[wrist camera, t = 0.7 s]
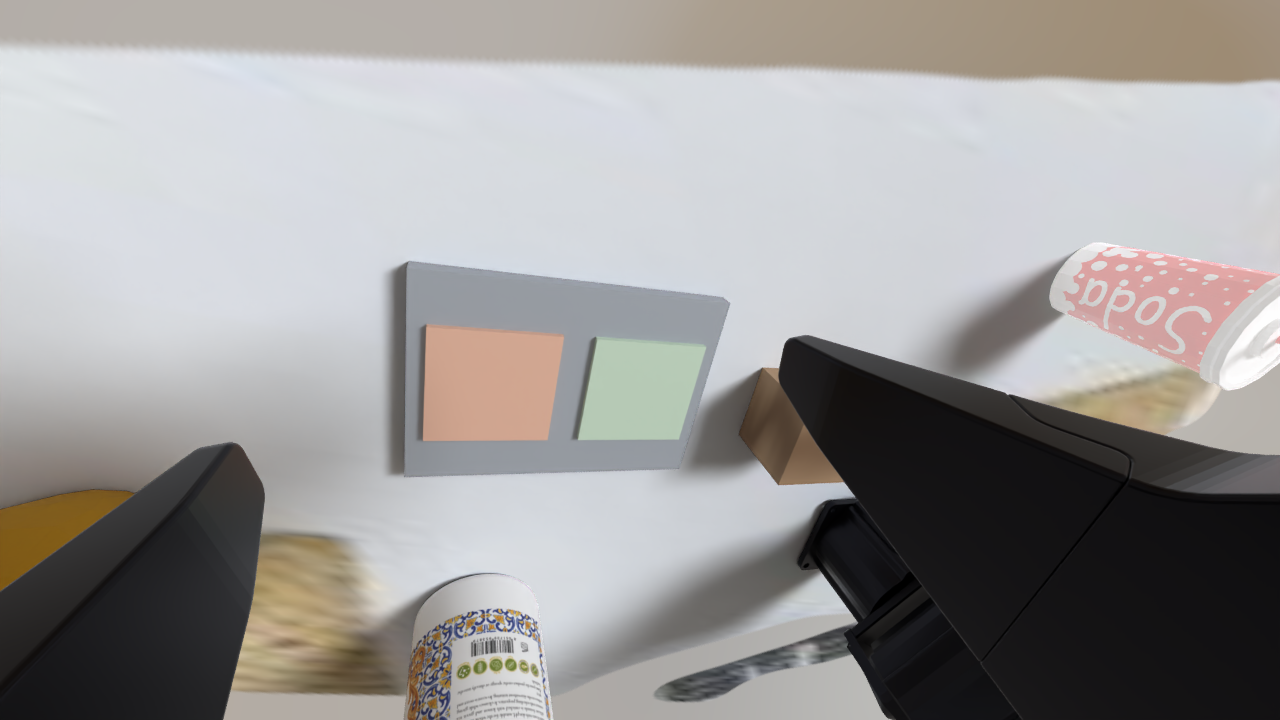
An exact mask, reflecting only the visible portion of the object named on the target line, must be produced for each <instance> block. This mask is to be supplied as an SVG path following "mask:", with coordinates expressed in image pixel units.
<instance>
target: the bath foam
mask: <svg viewBox="0 0 1280 720" xmlns="http://www.w3.org/2000/svg"><path fill="white" fill-rule="evenodd" d="M404 720H554V719H553V712H552V704H551V697H550V689H549V682H548V674H547V667H546V659H545V652H544V644H543V637H542V629H541V622H540V614H539V607H538V602H537V598H536V596H535V594H534V592H533V591H532V589H531V588H530V587H529V586H528V585H527V584H525V583H524V582H522V581H521V580H519V579H517V578H514V577H511V576H507V575H502V574H480V575H474V576H469V577H466V578H462V579H459V580H457V581H454V582H452V583H450V584H448V585H446V586H444V587H443V588H441V589H439V590H438V591H437V592H435V593H434V594H433V595H432V596H431V597H430V598H429V599H428V600H427V601H426V602H425V603H424V604H423V606H422V607H421V609H420V610H419V612H418V614H417V617H416V620H415V624H414V631H413V640H412V650H411V657H410V665H409V675H408V684H407V694H406V703H405V713H404Z"/></svg>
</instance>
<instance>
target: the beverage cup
mask: <svg viewBox="0 0 1280 720" xmlns="http://www.w3.org/2000/svg"><path fill="white" fill-rule="evenodd" d="M1049 299H1050V302H1051V306H1052V307H1053V308H1055V309H1056V310H1058V311H1060V312H1062V313H1064V314H1067V315H1069V316H1071V317H1073V318H1076V319H1078V320H1080V321H1082V322H1085V323H1087V324H1089V325H1092V326H1094V327H1096V328H1098V329H1101V330H1103V331H1105V332H1107V333H1110V334H1112V335H1114V336H1116V337H1119V338H1121V339H1123V340H1125V341H1128V342H1130V343H1132V344H1135V345H1137V346H1139V347H1141V348H1144V349H1146V350H1148V351H1150V352H1153V353H1155V354H1157V355H1159V356H1162V357H1164V358H1166V359H1169V360H1171V361H1173V362H1175V363H1178V364H1180V365H1182V366H1184V367H1187V368H1189V369H1191V370H1193V371H1196V372H1198V373H1200V377H1201V378H1202V379H1204V380H1205V381H1207V382H1209V383H1213V384H1216V385H1217V386H1218V387H1220V388H1222V389H1225V390H1233V389H1239V388H1242V387H1244V386H1246V385H1248V384H1250V383H1251V382H1253V381H1255V380H1257V379H1259V378H1260V377H1262V376H1263V375H1264V374H1266V373H1267V372H1268V371H1269V370H1271V369H1272V368H1273V367H1275V366H1276V365H1277V364H1278V363H1280V274H1275V273H1270V272H1264V271H1258V270H1253V269H1247V268H1242V267H1236V266H1230V265H1225V264H1219V263H1213V262H1208V261H1202V260H1197V259H1191V258H1185V257H1180V256H1174V255H1168V254H1163V253H1157V252H1152V251H1146V250H1140V249H1135V248H1129V247H1123V246H1118V245H1112V244H1107V243H1091V244H1089V245H1087V246H1085V247H1082V248H1080V249H1079V250H1078V251H1077V252H1076V253H1074V254H1073V255H1072V256H1071V257H1070V258H1069V259H1068V260H1067V261H1066V262H1065V264H1064V265H1063V266H1062V267H1061V269H1060V270H1059V271H1058V273H1057V275H1056V277H1055V279H1054V281H1053V283H1052V285H1051V290H1050V296H1049Z"/></svg>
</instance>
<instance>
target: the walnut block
mask: <svg viewBox="0 0 1280 720" xmlns="http://www.w3.org/2000/svg"><path fill="white" fill-rule="evenodd" d="M778 371H779V368H762V371H761V373H760V376H759V379H758V382H757V385H756V387H755V390H754V393H753V396H752V398H751V401H750V404H749V407H748V410H747V412H746V415H745V418H744V421H743V423H742V426H741V429H740V432H739V436H740V437H741V438H742V439H743V441H744V442H745V443H746V445H747V446H748V447H749V448H750V450H751V451H752V452H753V453H754V455H755V456H756V457H757V459H758V460H759V461H760V462H761V464H762V465H763V466H764V468H765V469H766V470H767V471H768V473H769V474H770V475H771V476H772V478H773V479H774V480H775V482H776V483H777V484H778V485H793V484H815V483H837V482H844V481H843V480H842V478H841V477H840V476H839V474H838V473H837V472H836V470H835V469H834V468H833V466H832V465H831V464H830V462H829V461H828V460H827V459H826V457H825V456H824V454H823V453H822V452H821V450H820V449H819V447H818V446H817V445H816V443H815V441H814V440H813V438H812V437H811V435H810V434H809V432H808V430H807V429H806V427H805V425H804V424H803V422H802V420H801V419H800V417H799V415H798V414H797V412H796V410H795V409H794V407H793V405H792V404H791V402H790V400H789V399H788V397H787V395H786V394H785V392H784V391H783V389H782V387H781V385H780V383H779V379H778Z"/></svg>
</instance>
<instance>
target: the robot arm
mask: <svg viewBox="0 0 1280 720" xmlns="http://www.w3.org/2000/svg"><path fill="white" fill-rule="evenodd" d="M778 379H779V383H780V385H781V387H782V389H783V391H784V392H785V394H786V395H787V397H788V399H789V400H790V402H791V404H792V405H793V407H794V409H795V410H796V412H797V414H798V415H799V417H800V419H801V420H802V422H803V424H804V425H805V427H806V429H807V430H808V432H809V434H810V435H811V437H812V438H813V440H814V441H815V443H816V445H817V446H818V447H819V449H820V450H821V452H822V453H823V454H824V456H825V457H826V459H827V460H828V461H829V462H830V464H831V465H832V466H833V468H834V469H835V470H836V472H837V473H838V474H839V476H840V477H841V478H842V480H843V481H844V482H845V484H846V485H847V486H848V488H849V489H850V490H851V492H852V493H853V494H854V496H855V497H856V498H857V499H849V500H833V501H830V502H828V503H827V504H826V505H825V507H824V509H823V511H822V513H821V515H820V517H819V519H818V521H817V524H816V526H815V528H814V530H813V532H812V534H811V536H810V538H809V540H808V542H807V544H806V546H805V548H804V550H803V552H802V554H801V556H800V559H799V561H798V563H797V564H798V566H799V567H800V569H801V570H810V569H818V568H819V570H820V571H821V572H822V574H823V575H824V577H825V578H826V579H827V581H828V582H829V583H830V585H831V586H832V587H833V589H834V590H835V592H836V593H837V594H838V596H839V597H840V598H841V600H842V601H843V602H844V604H845V605H846V607H847V608H848V609H849V611H850V612H851V613H852V615H853V616H854V617H855V619H856V620H857V622H858V624H857V625H856V626H854V627H853V628H852V629H850V628H849V629H848V630H847V631H845V632H844V635H845V637H846V639H847V640H848V642H849V643H848V645H847V648H848V649H849V651H850V652H851V654H852V655H853V656H854V658H855V659H856V661H857V662H858V664H859V665H860V667H861V669H862V670H863V672H864V674H865V676H866V678H867V680H868V682H869V684H870V687H871V689H872V691H873V693H874V695H875V697H876V699H877V702H878V704H879V706H880V708H881V710H882V712H883V713H884V715H885V716H886V717H887V718H888V719H892V720H1280V455H1260V454H1248V453H1240V452H1232V451H1227V450H1222V449H1217V448H1213V447H1208V446H1204V445H1200V444H1196V443H1192V442H1188V441H1184V440H1180V439H1176V438H1172V437H1168V436H1164V435H1161V434H1157V433H1153V432H1149V431H1145V430H1141V429H1137V428H1133V427H1129V426H1125V425H1121V424H1117V423H1113V422H1109V421H1105V420H1101V419H1098V418H1094V417H1090V416H1086V415H1082V414H1078V413H1075V412H1071V411H1067V410H1064V409H1060V408H1057V407H1053V406H1050V405H1046V404H1042V403H1039V402H1035V401H1032V400H1028V399H1025V398H1022V397H1018V396H1015V395H1011V394H1009V395H1007V394H1006V393H1004V392H1001V391H997V390H994V389H991V388H987V387H984V386H980V385H977V384H974V383H970V382H967V381H963V380H960V379H956V378H953V377H950V376H946V375H943V374H939V373H936V372H933V371H929V370H926V369H922V368H919V367H915V366H912V365H909V364H905V363H902V362H898V361H895V360H892V359H888V358H885V357H881V356H878V355H874V354H871V353H868V352H864V351H861V350H857V349H854V348H851V347H847V346H844V345H840V344H837V343H833V342H830V341H827V340H823V339H820V338H816V337H813V336H809V335H803V336H798V337H793V338H789V339H788V340H787V341H786V343H785V345H784V348H783V353H782V358H781V362H780V367H779V371H778ZM264 501H265V493H264V488H263V484H262V482H261V480H260V478H259V477H258V475H257V473H256V471H255V470H254V468H253V466H252V464H251V462H250V461H249V459H248V457H247V455H246V454H245V452H244V450H243V449H242V447H241V446H240V445H238V444H236V443H233V442H228V443H223V444H217V445H212V446H207V447H202V448H199V449H197V450H195V451H193V452H192V453H191V454H189V455H188V456H186V457H185V458H184V459H182V460H181V461H180V462H178V463H177V464H175V465H174V466H173V467H171V468H170V469H168V470H167V471H166V472H164V473H163V474H162V475H160V476H159V477H157V478H156V479H155V480H153V481H152V482H150V483H149V484H148V485H146V486H145V487H144V488H142V489H141V490H139V491H138V492H137V493H135V494H134V495H132V496H131V497H130V498H128V499H127V500H126V501H124V502H123V503H121V504H120V505H119V506H117V507H116V508H114V509H113V510H112V511H110V512H109V513H107V514H106V515H105V516H103V517H102V518H101V519H99V520H98V521H96V522H95V523H94V524H92V525H91V526H89V527H88V528H87V529H85V530H84V531H83V532H81V533H80V534H78V535H77V536H76V537H74V538H73V539H71V540H70V541H69V542H67V543H66V544H65V545H63V546H62V547H60V548H59V549H58V550H56V551H55V552H53V553H52V554H51V555H49V556H48V557H47V558H45V559H44V560H42V561H41V562H40V563H38V564H37V565H35V566H34V567H33V568H31V569H30V570H28V571H27V572H26V573H24V574H23V575H22V576H20V577H19V578H17V579H16V580H15V581H13V582H12V583H10V584H9V585H8V586H6V587H5V588H4V589H2V590H1V591H0V720H223V718H224V714H225V710H226V706H227V702H228V698H229V694H230V690H231V686H232V682H233V678H234V674H235V670H236V666H237V662H238V658H239V654H240V650H241V646H242V642H243V638H244V634H245V630H246V626H247V622H248V618H249V614H250V609H251V605H252V600H253V594H254V587H255V580H256V571H257V562H258V554H259V545H260V536H261V527H262V519H263V510H264Z"/></svg>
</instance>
